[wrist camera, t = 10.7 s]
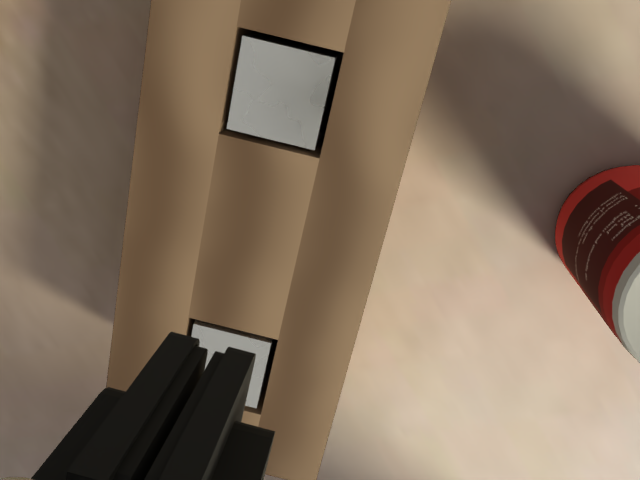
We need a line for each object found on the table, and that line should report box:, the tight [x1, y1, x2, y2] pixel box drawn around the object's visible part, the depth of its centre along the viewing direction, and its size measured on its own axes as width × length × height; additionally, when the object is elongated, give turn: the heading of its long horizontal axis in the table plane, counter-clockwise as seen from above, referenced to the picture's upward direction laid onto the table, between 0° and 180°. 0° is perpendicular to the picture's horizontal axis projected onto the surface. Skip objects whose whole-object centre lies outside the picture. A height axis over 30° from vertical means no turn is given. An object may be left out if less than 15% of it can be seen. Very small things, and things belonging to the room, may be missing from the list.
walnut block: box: [106, 0, 451, 480], centre depth 33 cm, size 12×26×9 cm, turn 168°
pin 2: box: [227, 33, 344, 150], centre depth 30 cm, size 4×4×8 cm
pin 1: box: [191, 320, 278, 408], centre depth 35 cm, size 4×4×8 cm
